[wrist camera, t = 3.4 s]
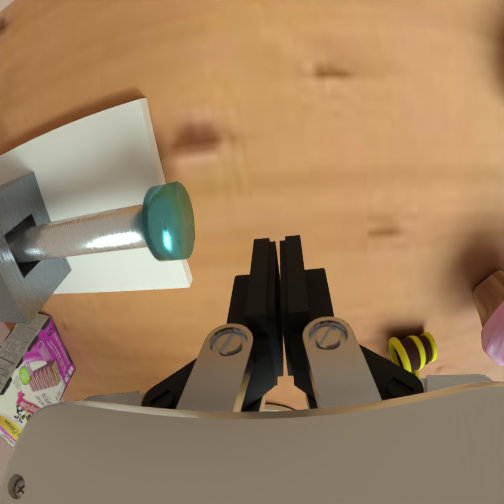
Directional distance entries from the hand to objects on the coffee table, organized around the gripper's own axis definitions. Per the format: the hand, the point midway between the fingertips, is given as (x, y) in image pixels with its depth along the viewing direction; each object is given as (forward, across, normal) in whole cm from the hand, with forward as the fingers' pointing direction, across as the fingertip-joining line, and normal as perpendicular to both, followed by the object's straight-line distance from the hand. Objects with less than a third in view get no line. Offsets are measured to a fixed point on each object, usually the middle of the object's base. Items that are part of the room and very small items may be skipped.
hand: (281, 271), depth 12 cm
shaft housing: (+11, +27, +1) cm, 29 cm away
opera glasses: (+12, -12, +23) cm, 29 cm away
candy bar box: (+12, +33, +18) cm, 39 cm away
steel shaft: (+10, +17, +1) cm, 20 cm away
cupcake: (+12, -22, +14) cm, 29 cm away
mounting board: (+12, +22, +1) cm, 25 cm away
